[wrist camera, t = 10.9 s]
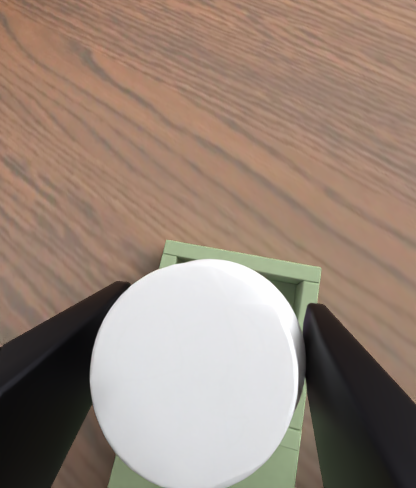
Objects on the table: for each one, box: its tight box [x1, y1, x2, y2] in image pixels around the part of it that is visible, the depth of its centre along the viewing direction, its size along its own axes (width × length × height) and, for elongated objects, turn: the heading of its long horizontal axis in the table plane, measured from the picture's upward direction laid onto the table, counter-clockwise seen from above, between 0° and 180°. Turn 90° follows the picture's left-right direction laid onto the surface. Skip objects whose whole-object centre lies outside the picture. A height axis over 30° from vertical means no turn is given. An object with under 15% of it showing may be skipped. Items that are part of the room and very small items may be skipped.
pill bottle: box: [90, 259, 306, 488], centre depth 10 cm, size 5×5×10 cm
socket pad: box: [108, 240, 321, 488], centre depth 13 cm, size 19×9×4 cm, turn 168°
